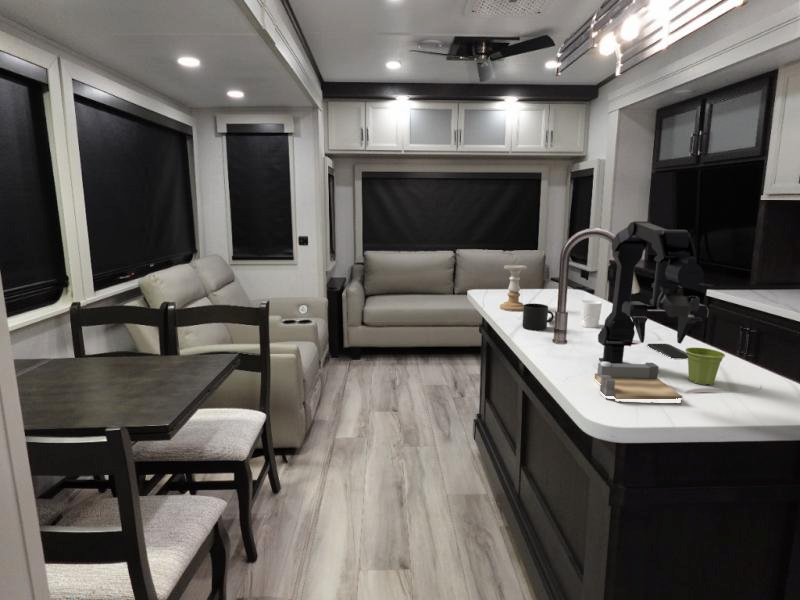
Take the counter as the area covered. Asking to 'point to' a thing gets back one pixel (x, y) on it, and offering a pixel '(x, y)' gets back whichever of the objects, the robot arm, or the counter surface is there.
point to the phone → (669, 350)
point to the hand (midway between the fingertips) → (660, 342)
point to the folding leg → (628, 370)
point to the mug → (536, 316)
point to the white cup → (590, 313)
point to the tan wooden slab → (635, 388)
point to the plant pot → (703, 364)
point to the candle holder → (513, 289)
